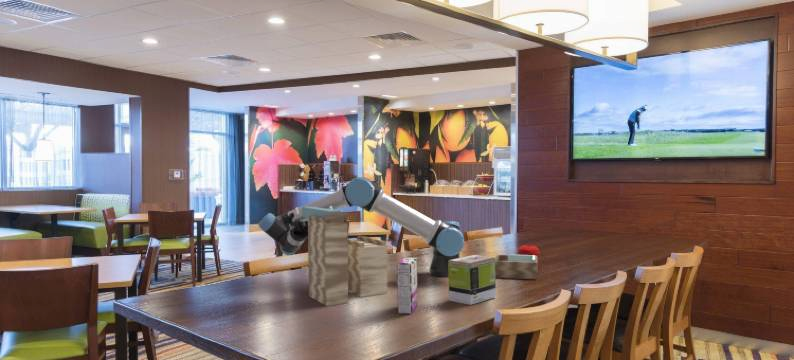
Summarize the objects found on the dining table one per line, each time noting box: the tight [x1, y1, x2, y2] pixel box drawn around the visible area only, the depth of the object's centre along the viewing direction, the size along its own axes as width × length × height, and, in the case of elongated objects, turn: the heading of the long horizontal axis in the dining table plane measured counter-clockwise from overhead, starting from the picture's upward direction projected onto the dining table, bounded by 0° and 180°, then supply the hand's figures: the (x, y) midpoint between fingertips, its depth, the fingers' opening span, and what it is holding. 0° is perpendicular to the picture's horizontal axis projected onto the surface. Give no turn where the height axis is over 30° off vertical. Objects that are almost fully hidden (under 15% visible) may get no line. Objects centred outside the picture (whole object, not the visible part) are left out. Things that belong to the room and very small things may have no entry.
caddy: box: [494, 254, 539, 280], centre depth 235 cm, size 18×18×7 cm
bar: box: [302, 207, 341, 219], centre depth 197 cm, size 27×4×4 cm, turn 30°
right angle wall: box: [507, 254, 535, 262], centre depth 237 cm, size 12×12×8 cm
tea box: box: [448, 254, 497, 306], centre depth 190 cm, size 15×10×15 cm, turn 134°
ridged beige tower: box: [348, 234, 388, 298], centre depth 207 cm, size 22×11×20 cm, turn 30°
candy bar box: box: [396, 257, 418, 315], centre depth 177 cm, size 11×5×16 cm, turn 168°
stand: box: [307, 213, 349, 307], centre depth 191 cm, size 17×8×31 cm, turn 30°
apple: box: [517, 243, 541, 260], centre depth 253 cm, size 10×10×11 cm
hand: (314, 209), depth 201 cm, fingers open, 13 cm apart
